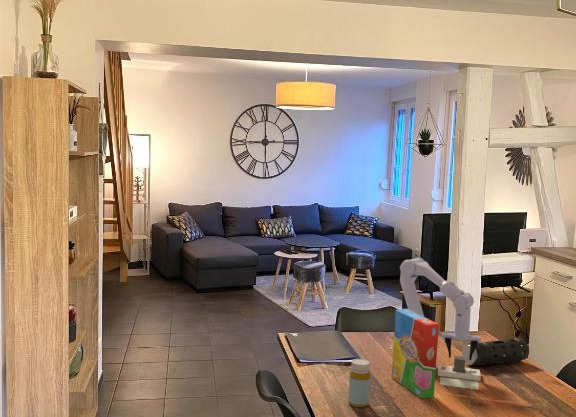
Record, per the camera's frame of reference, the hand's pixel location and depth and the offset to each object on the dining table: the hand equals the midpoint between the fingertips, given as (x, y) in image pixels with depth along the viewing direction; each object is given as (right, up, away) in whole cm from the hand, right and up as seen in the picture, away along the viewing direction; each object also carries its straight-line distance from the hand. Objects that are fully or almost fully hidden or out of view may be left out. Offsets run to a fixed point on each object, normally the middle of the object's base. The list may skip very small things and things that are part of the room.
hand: (459, 358), depth 238 cm
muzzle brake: (+19, -7, +16) cm, 26 cm away
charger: (0, -7, +1) cm, 7 cm away
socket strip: (0, -7, +1) cm, 7 cm away
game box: (-21, -8, -12) cm, 26 cm away
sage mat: (-3, -8, -8) cm, 12 cm away
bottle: (-43, -9, -29) cm, 53 cm away
